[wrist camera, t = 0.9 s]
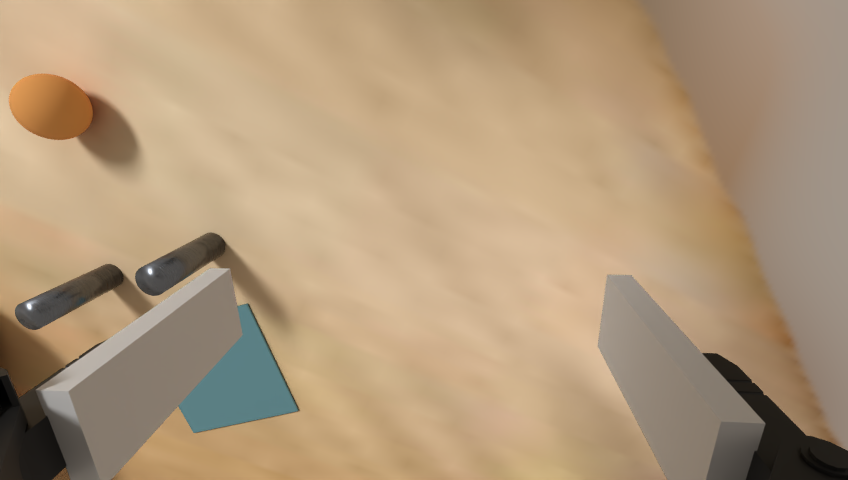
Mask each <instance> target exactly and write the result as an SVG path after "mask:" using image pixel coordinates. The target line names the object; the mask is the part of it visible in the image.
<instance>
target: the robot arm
mask: <svg viewBox="0 0 848 480" xmlns="http://www.w3.org/2000/svg"><path fill="white" fill-rule="evenodd" d="M242 335H243V334H242V329H241V323H240V318H239V313H238V308H237V302H236V297H235V292H234V286H233V281H232V276H231V270H230V269H228V268H210V269H208V270H207V271H205V272H204V273H202V274H201V275H200V276H198V277H197V278H195V279H194V280H192V281H191V282H189V283H188V284H187V285H185V286H184V287H182V288H181V289H179V290H178V291H177V292H175V293H174V294H172V295H171V296H169V297H168V298H167V299H165V300H164V301H162V302H161V303H159V304H158V305H156V306H155V307H154V308H152V309H151V310H149V311H148V312H146V313H145V314H144V315H142V316H141V317H139V318H138V319H136V320H135V321H134V322H132V323H131V324H129V325H128V326H126V327H125V328H123V329H122V330H121V331H119V332H118V333H116V334H115V335H113V336H112V337H111V338H109V339H108V340H106V341H103V342H101V343H99V344H97V345H95V346H94V347H92V348H91V349H89V350H88V351H86V352H85V353H83V354H82V355H81V356H79V359H75V360H73V361H72V362H70V363H69V364H67V365H66V367H65V368H62V369H60V370H59V371H57V372H56V373H54V374H53V375H52V376H50V377H49V378H47V379H46V380H44V381H43V382H41V383H40V384H38V385H37V386H36V387H34V388H33V389H31V390H30V391H28V392H27V393H25V394H24V395H23V396H21V397H20V398H18V396H17V394H16V391H15V389H14V386H13V384H12V382H11V379H10V377H9V374H8V372H7V370H6V369H3V368H0V480H52V479H53V478H54V477H55V476H56V475H57V474H58V473H59V472H61V471H62V470H63V469H64V468H65V467H66V469H67V471H68V474H69V477H70V479H71V480H111V479H112V478H113V477H114V476H115V475H116V474H117V473H118V472H119V471H120V469H121V468H122V467H123V466H124V465H125V464H126V463H127V462H128V461H129V460H130V458H131V457H132V456H133V455H134V454H135V453H136V452H137V451H138V450H139V449H140V447H141V446H142V445H143V444H144V443H145V442H146V441H147V440H148V439H149V438H150V436H151V435H152V434H153V433H154V432H155V431H156V430H157V429H158V428H159V427H160V425H161V424H162V423H163V422H164V421H165V420H166V419H167V418H168V417H169V416H170V414H171V413H172V412H173V411H174V410H175V409H176V408H177V407H178V406H179V405H180V403H181V402H182V401H183V400H184V399H185V398H186V397H187V396H188V395H189V394H190V392H191V391H192V390H193V389H194V388H195V387H196V386H197V385H198V384H199V383H200V381H201V380H202V379H203V378H204V377H205V376H206V375H207V374H208V373H209V372H210V370H211V369H212V368H213V367H214V366H215V365H216V364H217V363H218V362H219V361H220V359H221V358H222V357H223V356H224V355H225V354H226V353H227V352H228V351H229V349H230V348H231V347H232V346H233V345H234V344H235V343H236V342H237V341H238V340H239V338H240V337H241V336H242ZM598 348H599V350H600V352H601V354H602V355H603V357H604V359H605V361H606V363H607V365H608V367H609V369H610V371H611V373H612V375H613V377H614V378H615V380H616V382H617V384H618V386H619V388H620V390H621V392H622V394H623V396H624V398H625V400H626V401H627V403H628V405H629V407H630V409H631V411H632V413H633V415H634V417H635V419H636V421H637V423H638V424H639V426H640V428H641V430H642V432H643V434H644V436H645V438H646V440H647V442H648V444H649V446H650V447H651V449H652V451H653V453H654V455H655V457H656V459H657V461H658V463H659V465H660V467H661V469H662V470H663V472H664V474H665V476H666V478H667V480H848V451H847V450H845V449H843V448H841V447H839V446H837V445H835V444H833V443H831V442H828V441H825V440H822V439H819V438H815V437H812V436H806V435H805V434H804V433H803V432H802V431H801V430H800V429H799V428H798V427H797V426H796V425H795V424H794V423H793V422H792V421H791V420H790V419H789V418H788V417H787V416H786V415H785V413H784V412H783V411H782V410H781V409H780V408H779V407H778V406H777V405H776V404H775V403H774V402H773V401H772V400H771V399H770V398H769V397H768V396H767V395H764V394H763V391H762V390H761V389H760V388H759V387H758V386H757V385H756V384H755V383H752V380H751V379H750V378H749V377H748V376H747V375H746V374H745V373H744V372H743V371H742V370H741V369H740V368H739V367H738V366H737V365H735V364H733V363H732V362H730V361H728V360H727V359H725V358H723V357H722V356H720V355H718V354H713V353H701V352H700V351H699V350H698V348H697V347H696V346H695V345H694V344H693V343H692V342H691V341H690V340H689V338H688V337H687V336H686V335H685V334H684V333H683V332H682V331H681V330H680V329H679V327H678V326H677V325H676V324H675V323H674V322H673V321H672V320H671V319H670V317H669V316H668V315H667V314H666V313H665V312H664V311H663V310H662V309H661V308H660V306H659V305H658V304H657V303H656V302H655V301H654V300H653V299H652V298H651V296H650V295H649V294H648V293H647V292H646V291H645V290H644V289H643V288H642V287H641V285H640V284H639V283H638V282H637V281H636V280H635V279H634V278H633V277H632V275H607V280H606V287H605V295H604V302H603V310H602V317H601V325H600V332H599V340H598Z"/></svg>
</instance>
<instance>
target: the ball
mask: <svg viewBox="0 0 848 480" xmlns="http://www.w3.org/2000/svg"><path fill="white" fill-rule="evenodd" d="M9 105H10V109H11V111H12V114H13V115H14V117H15V119H16V120H17V121H18V122H19V123H20V124H21V125H22V126H23V127H24V128H26V129H27V130H28V131H30V132H32V133H33V134H36V135H38V136H40V137H44V138H48V139H54V140H64V139H70V138H74V137H76V136H78V135H80V134H82V133H83V132H84V131H85V130H86V129H87V128H88V127H89V126H90V124H91V122H92V118H93V109H92V105H91V102H90V100H89V98H88V97H87V95H86V94H85V93H84V91H83V90H82V89H81V88H79V87H78V86H77V85H76V84H74V83H73V82H71V81H69V80H67V79H65V78H63V77H59V76H56V75H51V74H35V75H30V76H27V77H25V78H23V79H21V80H20V81H18V82H17V83H16V84H15V85H14V86H13V88H12V90H11V92H10V96H9Z"/></svg>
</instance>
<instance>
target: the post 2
mask: <svg viewBox="0 0 848 480" xmlns="http://www.w3.org/2000/svg"><path fill="white" fill-rule="evenodd" d="M224 251H225V243H224V241H223V239H222V238H221V237H220V236H219V235H217V234H215V233H207V234H205V235H203V236H201V237H199V238H197V239H195V240H193V241H191V242H189V243H187V244H185V245H183V246H182V247H180V248H178V249H176V250H174V251H172V252H170V253H168V254H166V255H164V256H162V257H160V258H158V259H157V260H155V261H153V262H151V263H149V264H147V265H145V266H143V267H141V268H140V269H138V271H137V272H136V275H135V279H136V283H137V285H138V287H139V288H140V289H141V290H142V291H143V292H145V293H146V294H149V295H152V296H157V295H160V294H162V293H163V292H165V291H166V290H168V289H170V288H171V287H173V286H174V285H176V284H177V283H179V282H180V281H182V280H184V279H185V278H187V277H188V276H190V275H191V274H193V273H195V272H196V271H198V270H199V269H201V268H202V267H204V266H205V265H207V264H209V263H210V262H212V261H213V260H215V259H216V258H218V257H219V256H221V255H222V254H223V253H224Z"/></svg>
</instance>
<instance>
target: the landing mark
mask: <svg viewBox="0 0 848 480" xmlns="http://www.w3.org/2000/svg"><path fill="white" fill-rule="evenodd" d="M237 308H238V313H239V318H240V323H241V329H242V334H243V335H242V336H241V337H240V338H239V340H238V341H237V342H236V343H235V344H234V345H233V346H232V347H231V348H230V349H229V351H228V352H227V353H226V354H225V355H224V356H223V357H222V358H221V359H220V361H219V362H218V363H217V364H216V365H215V366H214V367H213V368H212V369H211V370H210V372H209V373H208V374H207V375H206V376H205V377H204V378H203V379H202V380H201V381H200V383H199V384H198V385H197V386H196V387H195V388H194V389H193V390H192V391H191V392H190V394H189V395H188V396H187V397H186V398H185V399H184V400H183V401H182V402H181V403H180V405H179V408H180V410H181V412H182V413H183V415H184V417H185V419H186V420H187V422H188V424H189V426H190V427H191V429H192V431H193V433H196V432H201V431H205V430H210V429H215V428H220V427H224V426H229V425H234V424H239V423H243V422H248V421H253V420H258V419H262V418H267V417H272V416H277V415H282V414H286V413H291V412H296V411H298V410H299V409H298V407H297V405H296V403H295V401H294V399H293V397H292V395H291V393H290V391H289V389H288V386H287V384H286V382H285V380H284V378H283V376H282V374H281V372H280V370H279V368H278V366H277V363H276V361H275V359H274V357H273V355H272V353H271V351H270V349H269V347H268V345H267V343H266V340H265V338H264V336H263V334H262V332H261V330H260V328H259V326H258V324H257V322H256V320H255V317H254V315H253V313H252V311H251V309H250V307H249V305H248V304H244V305H240V306H237Z"/></svg>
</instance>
